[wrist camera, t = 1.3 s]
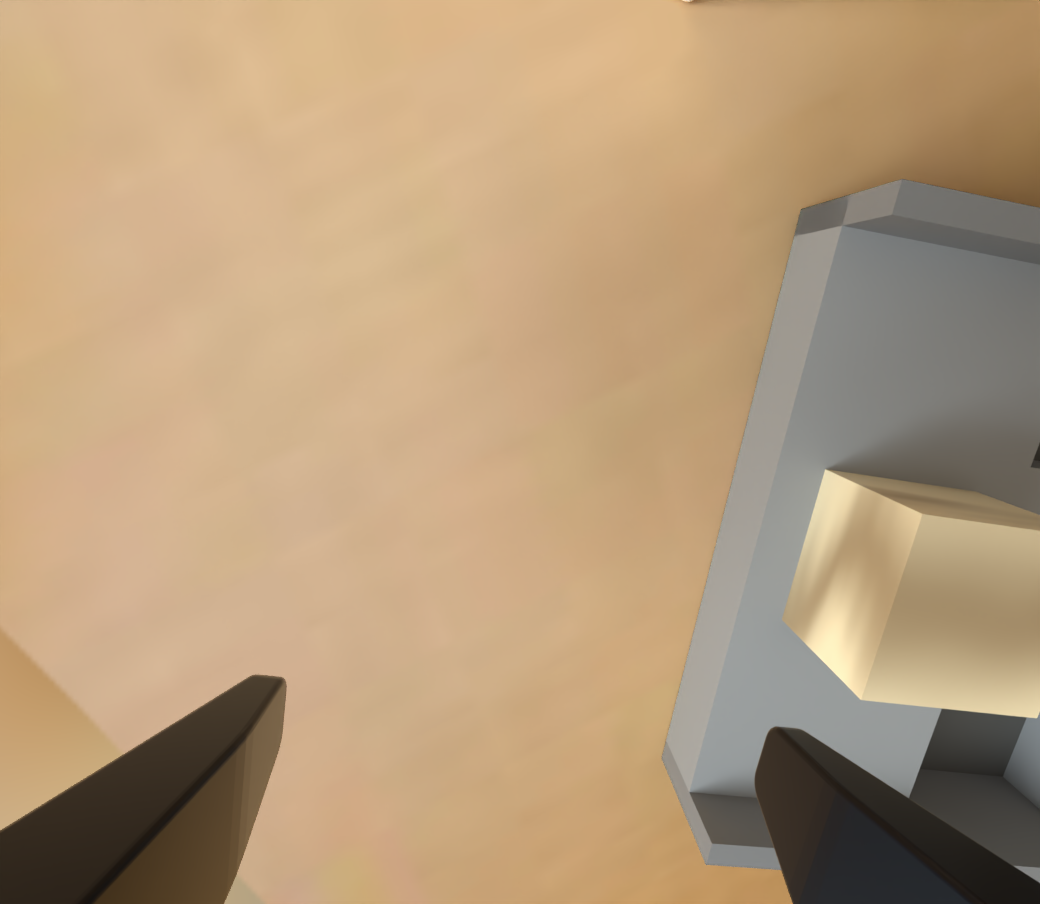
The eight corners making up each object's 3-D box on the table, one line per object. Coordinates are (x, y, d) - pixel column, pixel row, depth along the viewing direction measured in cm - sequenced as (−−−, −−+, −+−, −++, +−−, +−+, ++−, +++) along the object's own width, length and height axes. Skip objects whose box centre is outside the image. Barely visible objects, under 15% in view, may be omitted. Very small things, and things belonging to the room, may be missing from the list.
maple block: (924, 636, 19) (1036, 718, 16) (781, 619, 19) (861, 700, 15) (976, 491, 18) (1110, 540, 14) (825, 469, 18) (922, 514, 14)
